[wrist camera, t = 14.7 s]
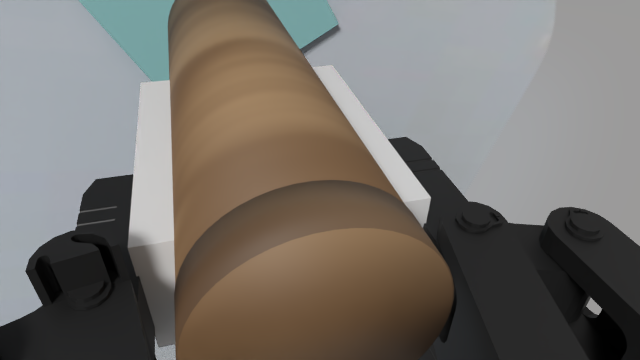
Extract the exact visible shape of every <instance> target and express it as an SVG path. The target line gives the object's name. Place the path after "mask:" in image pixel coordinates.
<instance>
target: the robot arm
mask: <svg viewBox="0 0 640 360" xmlns="http://www.w3.org/2000/svg"><path fill="white" fill-rule="evenodd" d="M312 68H313V70H314V71H315V72H316V74H317V75H318V77H319V78H320V80H321V81H322V83H323V84H324V86H325V87H326V89H327V90H328V92H329V93H330V95H331V96H332V98H333V99H334V100H335V102H336V103H337V105H338V106H339V108H340V109H341V111H342V112H343V114H344V115H345V117H346V118H347V120H348V121H349V123H350V124H351V126H352V127H353V128H354V130H355V131H356V133H357V134H358V136H359V137H360V139H361V140H362V142H363V143H364V145H365V146H366V148H367V149H368V151H369V152H370V153H371V155H372V156H373V158H374V159H375V161H376V162H377V164H378V165H379V167H380V168H381V170H382V171H383V173H384V174H385V176H386V177H387V179H388V180H389V181H390V183H391V184H392V186H393V187H394V189H395V190H396V192H397V193H398V195H399V196H400V198H401V199H402V201H403V202H404V204H405V205H406V206H407V207H408V208H409V210H410V211H411V212H412V213H413V214H414V216H415V217H416V219H417V220H418V222H419V223H420V225H421V226H422V228H423V229H424V231H425V232H426V233H427V235H428V236H429V238H430V239H431V241H432V242H433V244H434V245H435V247H436V248H437V250H438V251H439V252H440V254H441V255H442V257H443V258H444V260H445V262H446V263H447V265H448V266H449V269H450V271H451V274H452V277H453V284H454V300H453V304H452V308H451V312H450V315H449V317H448V320H447V322H446V324H445V326H444V328H443V329H442V331H441V333H440V334H439V336H438V337H437V339H436V340H435V341H434V343H433V344H432V345H431V347H430V348H429V349H428V350H427V351H426V352H425V353H424V354H423V355H422V356H421V357H420V358H419V359H418V360H640V246H639V245H637V244H636V243H635V242H634V241H632V240H631V239H630V238H629V237H627V236H626V235H625V234H624V233H623V232H621V231H620V230H619V229H618V228H617V227H615V226H614V225H613V224H612V223H610V222H609V221H607V220H606V219H604V218H603V217H601V216H600V215H598V214H595V213H593V212H590V211H587V210H585V209H579V208H574V207H565V208H558V209H556V210H554V211H552V212H551V213H550V215H549V216H548V218H547V220H546V223H545V225H544V226H541V225H526V224H513V223H508V222H507V220H506V219H505V218H504V217H503V216H502V215H501V214H500V213H499V212H498V211H496V210H494V209H493V208H491V207H489V206H487V205H484V204H480V203H477V202H468V201H467V199H466V198H465V197H464V196H463V195H462V193H461V192H460V191H459V190H458V189H457V187H456V186H455V185H454V184H453V183H452V182H451V180H450V179H449V178H448V177H447V176H446V174H445V173H444V172H443V171H442V170H440V167H439V166H438V165H437V164H436V162H435V161H434V160H432V158H431V157H430V155H429V154H428V153H427V152H426V151H425V149H424V148H423V147H422V146H421V145H419V144H417V143H416V142H414V141H412V140H410V139H409V138H407V137H402V138H394V139H387V138H386V137H385V135H384V134H383V133H382V131H381V130H380V129H379V127H378V126H377V125H376V123H375V122H374V121H373V119H372V118H371V117H370V115H369V114H368V113H367V111H366V110H365V109H364V107H363V106H362V105H361V103H360V102H359V100H358V99H357V98H356V96H355V95H354V94H353V92H352V91H351V90H350V88H349V87H348V86H347V84H346V83H345V82H344V80H343V79H342V78H341V76H340V75H339V74H338V72H337V71H336V70H335V68H334V67H333V66H332V65H330V66H319V67H312ZM26 273H27V275H28V277H29V279H30V281H31V283H32V285H33V287H34V289H35V291H36V293H37V295H38V297H39V299H40V300H41V302H42V304H43V306H41V307H40V308H38V309H37V310H35V311H34V312H32V313H30V314H28V315H26V316H24V317H22V318H20V319H18V320H15V321H13V322H10V323H8V324H6V325H3V326H1V327H0V360H156V357H155V337H156V340H157V344H158V347H163V346H168V345H173V344H175V308H174V292H175V257H174V217H173V180H172V143H171V106H170V80H165V81H154V82H143V83H141V86H140V99H139V111H138V124H137V136H136V149H135V162H134V174H132V175H125V176H117V177H110V178H102V179H96V180H95V181H94V182H93V183H92V185H91V186H90V187H89V188H88V189H87V190H86V192H85V193H84V194H83V197H82V202H81V206H80V213H79V215H78V220H77V227H76V229H75V231H70V232H67V233H65V234H62V235H60V236H57V237H54V238H53V239H51V240H50V241H48V242H47V243H45V244H44V245H42V246H41V247H39V248H38V250H37V251H36V252H35V253H34V254H33V255H32V256H31V258H30V259H29V262H28V265H27V268H26ZM590 298H592V299H593V300H594V301H595V302H596V303H597V304H598V305H599V306H600V307H601V308H602V311H601V313H600V314H599V315H596V314H594V313H593V312H591V311H590V310H589V309H588V308H587V307H586V305H587V303H588V301H589V300H590Z"/></svg>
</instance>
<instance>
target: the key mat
mask: <svg viewBox="0 0 640 360" xmlns="http://www.w3.org/2000/svg"><path fill="white" fill-rule="evenodd" d="M79 1H80V2H81V4H82V5H83V6H84V7H85V8H86V9H87V10H88V11H89V12H90V13H91V15H92V16H93V17H94V18H95V19H96V20H97V21H98V22H99V23H100V24H101V26H102V27H103V28H104V29H105V30H106V31H107V32H108V33H109V34H110V36H111V37H112V38H113V39H114V40H115V41H116V42H117V43H118V44H119V45H120V47H121V48H122V49H123V50H124V51H125V52H126V53H127V54H128V55H129V56H130V58H131V59H132V60H133V61H134V62H135V63H136V64H137V65H138V66H139V67H140V69H141V70H142V71H143V72H144V73H145V74H146V75H147V76H148V77H149V78H150V80H151V81H152V82H154V81H165V80H169V52H168V18H169V13H170V10H171V7H172V5H173V3H174V1H175V0H79ZM267 2H268V3H269V5H270V6H271V8H272V9H273V11H274V12H275V14H276V15H277V17H278V18H279V19H280V21H281V22H282V24H283V25H284V27H285V28H286V30H287V31H288V33H289V34H290V36H291V37H292V39H293V40H294V42H295V43H296V45H297V46H298V47H299V49H301V48H303V47H304V46H306V45H308V44H309V43H311V42H312V41H314V40H315V39H317V38H318V37H320V36H321V35H323V34H324V33H326V32H327V31H329V30H330V29H332V28H333V27H335V26H336V25H338V24H339V23H338V21H337V20H336V18H335V16H334V14H333V12H332V10H331V8H330V6H329V4H328V2H327V1H326V0H267Z"/></svg>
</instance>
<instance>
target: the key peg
mask: <svg viewBox="0 0 640 360" xmlns="http://www.w3.org/2000/svg"><path fill="white" fill-rule="evenodd" d="M168 52H169V80H170V106H171V143H172V180H173V217H174V257H175V292H174V308H175V346H176V360H418V359H419V358H420V357H421V356H422V355H423V354H424V353H425V352H426V351H427V350H428V349H429V348H430V347H431V345H432V344H433V343H434V341H435V340H436V339H437V337H438V336H439V334H440V333H441V331H442V329H443V328H444V326H445V324H446V322H447V320H448V317H449V315H450V312H451V308H452V304H453V300H454V284H453V277H452V274H451V271H450V269H449V266H448V265H447V263H446V262H445V260H444V258H443V257H442V255H441V254H440V252H439V251H438V250H437V248H436V247H435V245H434V244H433V242H432V241H431V239H430V238H429V236H428V235H427V233H426V232H425V231H424V229H423V228H422V226H421V225H420V223H419V222H418V220H417V219H416V217H415V216H414V214H413V213H412V212H411V211H410V210H409V208H408V207H407V206H406V205H405V204H404V202H403V201H402V199H401V198H400V196H399V195H398V193H397V192H396V190H395V189H394V187H393V186H392V184H391V183H390V181H389V180H388V179H387V177H386V176H385V174H384V173H383V171H382V170H381V168H380V167H379V165H378V164H377V162H376V161H375V159H374V158H373V156H372V155H371V153H370V152H369V151H368V149H367V148H366V146H365V145H364V143H363V142H362V140H361V139H360V137H359V136H358V134H357V133H356V131H355V130H354V128H353V127H352V126H351V124H350V123H349V121H348V120H347V118H346V117H345V115H344V114H343V112H342V111H341V109H340V108H339V106H338V105H337V103H336V102H335V100H334V99H333V98H332V96H331V95H330V93H329V92H328V90H327V89H326V87H325V86H324V84H323V83H322V81H321V80H320V78H319V77H318V75H317V74H316V72H315V71H314V70H313V68H312V67H311V65H310V64H309V62H308V61H307V59H306V58H305V56H304V55H303V53H302V52H301V50H300V49H299V47H298V46H297V45H296V43H295V42H294V40H293V39H292V37H291V36H290V34H289V33H288V31H287V30H286V28H285V27H284V25H283V24H282V22H281V21H280V19H279V18H278V17H277V15H276V14H275V12H274V11H273V9H272V8H271V6H270V5H269V3H268V2H267V0H175V1H174V3H173V5H172V7H171V10H170V13H169V18H168Z"/></svg>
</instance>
